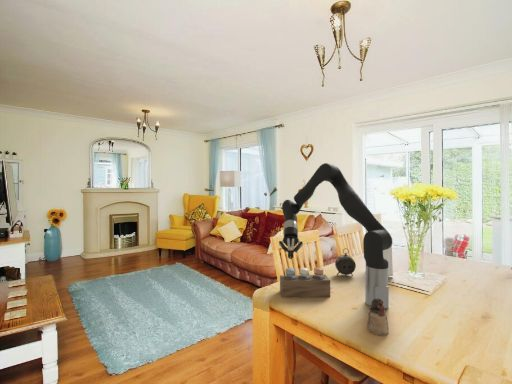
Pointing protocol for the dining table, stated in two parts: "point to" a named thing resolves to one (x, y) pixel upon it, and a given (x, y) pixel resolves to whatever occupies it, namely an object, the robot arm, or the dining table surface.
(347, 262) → the alarm clock
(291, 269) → the slate button
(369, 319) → the figurine
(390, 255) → the milk
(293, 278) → the button console
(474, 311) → the dining table surface
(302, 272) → the cream button
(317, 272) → the terracotta button
